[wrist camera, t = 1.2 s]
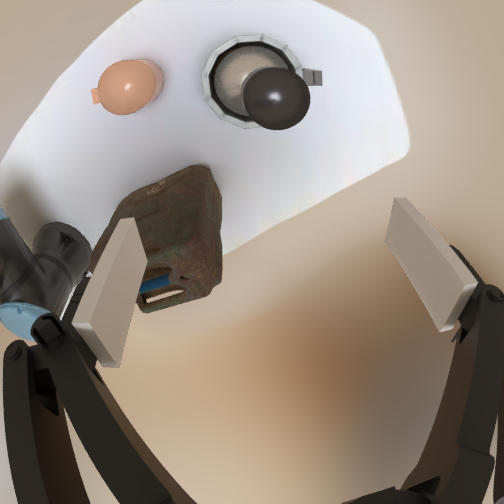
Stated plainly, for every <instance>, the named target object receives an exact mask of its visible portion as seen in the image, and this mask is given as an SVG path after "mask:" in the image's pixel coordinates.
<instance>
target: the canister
mask: <svg viewBox="0 0 504 504" xmlns="http://www.w3.org/2000/svg"><path fill="white" fill-rule="evenodd" d="M133 217H134V219H135V222H136V226H137V229H138V232H139V236H140V239H141V242H142V245H143V248H144V252H145V255H146V258H147V261H148V262H147V265H146V268H145V272H144V275H143V278H142V282H141V285H140V289H139V292H138V296H137V299H136V303H137V305H138V306H139V308H140V310H141V311H142V312H143V313H150V312H154V311H157V310H161V309H164V308H168V307H171V306H175V305H178V304H182V303H185V302H189V301H192V300H196V299H199V298H203V297H206V296H208V295H209V294H210V293H211V291H212V289H213V288H214V287H215V286H216V285H218V284H219V283H220V282H221V279H222V243H221V236H220V229H221V221H222V197H221V194H220V192H219V190H218V188H217V186H216V184H215V181H214V179H213V177H212V174H211V171H210V169H205V168H204V167H200V166H190V167H188V168H186V169H184V170H181V171H179V172H177V173H175V174H173V175H171V176H169V177H167V178H166V179H164V180H163V181H161V182H159V183H156V184H153V185H149V186H146V187H144V188H142V189H139V190H137V191H135V192H133V193H131V194H130V195H128V196H127V197H126V198H125V199H124V200H123V201H122V202H121V203H120V204H119V205H118V207H117V209H116V211H115V213H114V214H113V216H112V218H111V220H110V223H109V225H108V227H107V228H106V229H105V230H104V232H103V234H102V236H101V237H100V239H99V241H98V243H97V244H96V246H95V248H94V250H93V251H92V253H91V255H90V264H89V267H88V270H89V271H90V272H91V273H92V274H93V272H94V270H95V268H96V266H97V264H98V261H99V259H100V257H101V255H102V253H103V251H104V249H105V247H106V245H107V243H108V241H109V239H110V238H111V236H112V234H113V232H114V230H115V228H116V226H117V224H118V222H119V221H120V219H125V218H133ZM176 290H184V291H183V292H181V293H178V294H175V295H172V296H169V297H165V298H162V299H159V300H156V301H153V302H150V303H147V301H146V299H148V298H151V297H155V296H158V295H161V294H164V293H167V292H171V291H176Z"/></svg>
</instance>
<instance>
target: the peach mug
mask: <svg viewBox="0 0 504 504" xmlns="http://www.w3.org/2000/svg"><path fill="white" fill-rule="evenodd" d="M163 85H164V76H163V72H162V70H161V69H160V67H159V66H158V65H157V64H156V63H154V62H152V61H149V60H125V61H119V62H116V63H114V64H112V65H111V66H109V67H108V68H107V69H106V70H105V71H104V73H103V74H102V76H101V78H100V80H99V83H98V88H95V89H92V90H91V93H92V98H93V103H94V104H97V103H100V102H101V104H102V106H103V107H104V108H105V109H106V110H108V111H109V112H111V113H113V114H117V115H128V114H131V113H134V112H136V111H137V110H139V109H140V108H142V107H144V106H145V105H147V104H148V103H150V102H151V101H153V100H154V99H155V98H156V97H158V95H159V94H160V92H161V91H162V88H163Z"/></svg>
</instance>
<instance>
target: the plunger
mask: <svg viewBox="0 0 504 504" xmlns="http://www.w3.org/2000/svg"><path fill="white" fill-rule="evenodd" d="M214 81H215V89H216V93H217V95H218V97H219V99H220V100H221V102H222V103H223V104H224V105H225V106H226V107H227V108H228V109H230V110H231V111H233V112H235V113H237V114H240V115H244V116H250V118H251V119H252V120H253V121H254V122H255V123H257V124H258V125H260V126H262V127H264V128H267V129H271V130H284V129H288V128H290V127H292V126H294V125H296V124H297V123H299V122H300V121H301V120H302V119H303V118H304V116H305V115H306V113H307V111H308V109H309V105H310V93H309V89H308V86H307V85H306V83H305V81H304V80H303V79H302V78H301V77H300V76H299V75H298V74H296V73H295V72H293V71H291V70H289V69H288V67H287V65H286V63H285V62H284V61H283V59H282V58H281V57H280V56H279V55H278V54H276V53H275V52H273V51H271V50H269V49H267V48H263V47H258V46H247V47H242V48H239V49H237V50H234V51H233V52H231V53H229V54H228V55H227V56H226V57H225V58H224V59H223V60H222V61H221V62H220V64H219V66H218V68H217V70H216V74H215V80H214Z"/></svg>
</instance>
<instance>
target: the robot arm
mask: <svg viewBox="0 0 504 504" xmlns="http://www.w3.org/2000/svg"><path fill="white" fill-rule="evenodd" d="M385 242H386V244H387V245H388V246H389V248H390V249H391V251H392V252H393V254H394V256H395V257H396V259H397V261H398V262H399V263H400V265H401V267H402V268H403V270H404V272H405V273H406V275H407V276H408V278H409V279H410V281H411V283H412V285H413V286H414V288H415V290H416V291H417V293H418V295H419V296H420V298H421V300H422V301H423V303H424V305H425V306H426V308H427V310H428V312H429V314H430V316H431V317H432V319H433V321H434V323H435V325H436V326H437V328H438V330H439V332H443V331H446V330H450V329H453V327H454V325H455V324H456V322H457V320H459V322H460V323H461V326H460V328H459V329H458V331H457V333H456V334H455V336H454V337H453V339H452V342H454V340H455V339H456V338H457V340H456V345H455V350H454V354H453V359H452V363H451V367H450V371H449V375H448V379H447V383H446V387H445V390H444V393H443V397H442V400H441V403H440V406H439V409H438V412H437V416H436V418H435V421H434V424H433V427H432V430H431V432H430V435H429V438H428V440H427V443H426V445H425V448H424V450H423V453H422V455H421V457H420V460H419V462H418V464H417V465H416V467H415V468H414V470H413V471H412V472H411V473H410V474H409V476H408V477H407V478H406V480H405V482H404V484H403V485H402V487H401V489H400V490H395V486H394V487H391V488H388V489H385V490H382V491H378V492H375V493H372V494H368V495H365V496H362V497H359V498H356V499H353V500H350V501H347V502H343V503H341V504H482V501H483V499H484V496H485V493H486V490H487V488H488V485H489V482H490V479H491V476H492V472H493V469H494V464H495V460H494V457H493V456H492V455H490V452H489V451H490V446H491V442H492V438H493V433H494V429H495V424H496V419H497V414H498V437H497V455H496V466H495V476H494V489H493V493H494V494H493V501H494V504H504V294H503V292H502V291H501V290H500V289H499V288H497V287H495V286H494V285H490V284H489V285H486V284H485V283H484V282H483V280H482V279H481V278H480V276H479V275H478V274H477V272H476V271H475V270H474V268H473V267H472V266H471V265H470V263H469V262H468V261H467V260H466V259H465V257H464V256H463V255H462V253H461V252H460V251H459V250H457V249H456V248H455V247H454V246H452V245H448V244H447V242H446V241H445V240H444V239H443V238H442V236H441V235H440V234H439V233H438V232H437V231H436V230H435V228H434V227H433V226H432V225H431V224H430V223H429V222H428V221H427V219H426V218H425V217H424V216H423V215H422V214H421V213H420V212H419V211H418V210H417V209H416V208H415V207H414V206H413V204H412V203H411V202H409V200H408V199H407V198H394V201H393V206H392V211H391V216H390V221H389V225H388V230H387V234H386V238H385ZM91 253H92V250H91V248H90V245H89V243H88V242H87V240H86V239H85V238H84V236H83V235H82V234H81V233H80V232H78V231H77V230H76V229H74V228H73V227H71V226H69V225H66V224H63V223H50V224H47V225H45V226H44V227H43V228H42V229H41V230H40V231H39V233H38V234H37V236H36V237H35V240H34V244H33V249H32V252H31V251H30V249H29V248H28V246H27V245H26V243H25V242H24V241H23V239H22V238H21V236H20V235H19V233H18V232H17V230H16V229H15V227H14V226H13V224H12V223H11V221H10V218H9V217H8V216H7V215H6V214H5V212H4V211H3V209H2V208H1V206H0V321H1V323H2V324H3V325H4V326H5V327H6V328H7V329H8V330H10V331H11V332H12V333H14V334H16V335H17V336H19V337H21V338H23V339H27V340H30V341H35V342H36V343H37V345H34V346H30V347H29V346H28V345H27V344H26V343H25V342H24V341H23V340H15V341H14V342H12V343H11V344H10V345H9V346H8V347H7V348H6V351H5V353H4V358H3V359H4V360H3V406H4V422H5V433H6V443H7V450H8V458H9V464H10V469H11V475H12V480H13V484H14V489H15V493H16V497H17V501H18V504H90V501H89V498H88V496H87V493H86V490H85V487H84V484H83V481H82V478H81V475H80V472H79V469H78V465H77V462H76V458H75V455H74V451H73V447H72V443H71V439H70V435H69V431H68V426H67V422H66V417H65V412H64V408H65V409H66V412H67V414H68V416H69V418H70V421H71V423H72V425H73V427H74V429H75V431H76V433H77V435H78V437H79V439H80V440H81V442H82V444H83V446H84V448H85V450H86V451H87V453H88V455H89V457H90V458H91V460H92V462H93V464H94V465H95V467H96V469H97V470H98V472H99V473H100V475H101V477H102V478H103V480H104V481H105V483H106V484H107V486H108V487H109V489H110V490H111V492H112V493H113V495H114V496H115V498H116V499H117V500H118V502H119V503H120V504H197V503H196V502H195V501H194V500H193V499H192V498H191V497H190V496H189V495H188V494H187V493H186V492H185V491H184V490H183V489H182V487H181V486H180V485H179V484H178V483H177V482H176V481H175V480H174V478H173V477H172V476H171V475H170V474H169V473H168V471H167V470H166V469H165V468H164V467H163V466H162V464H161V463H160V462H159V460H158V459H157V458H156V457H155V456H154V454H153V453H152V452H151V450H150V449H149V448H148V446H147V445H146V444H145V442H144V441H143V440H142V439H141V437H140V436H139V434H138V433H137V432H136V430H135V429H134V427H133V426H132V425H131V423H130V422H129V420H128V419H127V417H126V416H125V414H124V413H123V411H122V410H121V408H120V407H119V405H118V403H117V402H116V400H115V399H114V397H113V396H112V394H111V392H110V391H109V389H108V387H107V386H106V384H105V382H104V381H103V379H102V377H101V375H100V374H99V372H98V370H97V369H96V368H95V365H96V361H97V360H98V361H99V362H100V363H101V365H102V366H103V367H111V368H119V367H120V364H121V359H122V354H123V350H124V346H125V342H126V337H127V333H128V330H129V326H130V322H131V317H132V314H133V310H134V306H135V303H136V299H137V296H138V292H139V289H140V285H141V282H142V278H143V275H144V272H145V268H146V265H147V262H148V261H147V258H146V255H145V252H144V248H143V245H142V242H141V239H140V236H139V232H138V229H137V226H136V222H135V219H134V217H133V218H125V219H120V221H119V222H118V224H117V226H116V228H115V230H114V232H113V234H112V236H111V238H110V239H109V241H108V243H107V245H106V247H105V249H104V251H103V253H102V255H101V257H100V259H99V261H98V264H97V266H96V268H95V270H94V272H93V274H92V276H91V277H86V275H87V274H88V272H89V270H88V267H89V264H90V255H91ZM80 281H81V282H80ZM79 282H80V283H79ZM78 283H79V284H78ZM77 284H78V285H77ZM76 285H77V287H76V289H75V291H74V293H73V296H72V297H71V300H70V303H69V304H68V306H67V308H66V311H65V313H64V315H63V318H62V320H60V317H61V314H62V312H63V309H64V307H65V304H66V302H67V300H68V297H69V295H70V293H71V291H72V289H73V288H74V287H75V286H76ZM63 405H64V406H63Z"/></svg>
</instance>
